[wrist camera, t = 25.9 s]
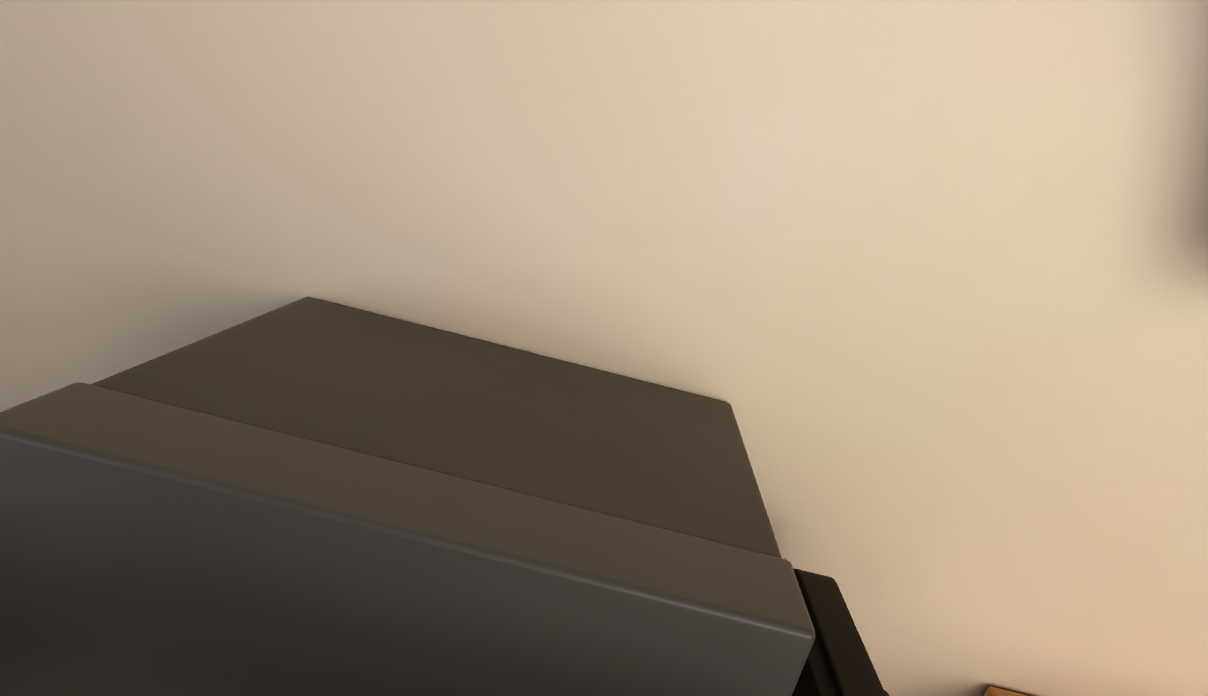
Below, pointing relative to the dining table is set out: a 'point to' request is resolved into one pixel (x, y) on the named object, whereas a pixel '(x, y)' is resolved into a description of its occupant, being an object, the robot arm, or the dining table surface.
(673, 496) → the charcoal box
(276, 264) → the dining table surface
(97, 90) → the dining table surface
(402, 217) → the dining table surface
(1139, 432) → the dining table surface
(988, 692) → the kraft box
